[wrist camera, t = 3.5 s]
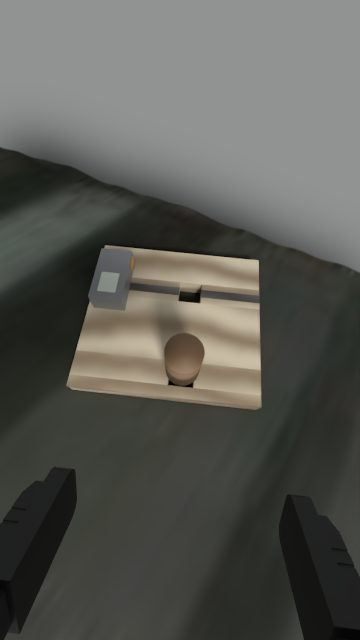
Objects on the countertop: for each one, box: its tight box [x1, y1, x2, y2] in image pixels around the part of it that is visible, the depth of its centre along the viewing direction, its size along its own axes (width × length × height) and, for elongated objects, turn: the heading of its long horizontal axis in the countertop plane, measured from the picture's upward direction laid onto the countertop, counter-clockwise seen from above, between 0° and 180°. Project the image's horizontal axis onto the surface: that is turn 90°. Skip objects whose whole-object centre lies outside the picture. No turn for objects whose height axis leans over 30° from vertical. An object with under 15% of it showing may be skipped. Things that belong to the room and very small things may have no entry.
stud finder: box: [88, 248, 135, 311], centre depth 39 cm, size 8×4×3 cm, turn 174°
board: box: [66, 245, 261, 410], centre depth 40 cm, size 22×24×3 cm
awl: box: [164, 333, 205, 386], centre depth 33 cm, size 4×4×11 cm
